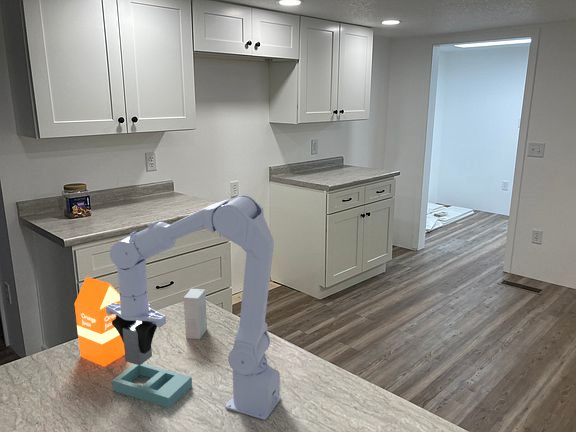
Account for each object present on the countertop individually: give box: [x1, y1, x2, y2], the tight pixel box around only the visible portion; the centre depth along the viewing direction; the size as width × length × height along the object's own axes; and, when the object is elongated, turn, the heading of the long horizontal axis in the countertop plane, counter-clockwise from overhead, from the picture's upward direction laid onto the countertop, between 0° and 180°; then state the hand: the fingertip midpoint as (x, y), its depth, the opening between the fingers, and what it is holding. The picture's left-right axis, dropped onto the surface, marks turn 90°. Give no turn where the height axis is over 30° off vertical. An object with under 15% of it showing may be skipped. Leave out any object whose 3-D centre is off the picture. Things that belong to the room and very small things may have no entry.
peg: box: [123, 321, 153, 365], centre depth 103 cm, size 4×4×8 cm
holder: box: [111, 362, 193, 409], centre depth 104 cm, size 15×8×2 cm, turn 67°
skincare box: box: [183, 288, 208, 340], centre depth 126 cm, size 6×4×12 cm
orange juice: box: [74, 276, 125, 367], centre depth 115 cm, size 8×9×20 cm
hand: (138, 349), depth 103 cm, fingers closed on peg, 4 cm apart
